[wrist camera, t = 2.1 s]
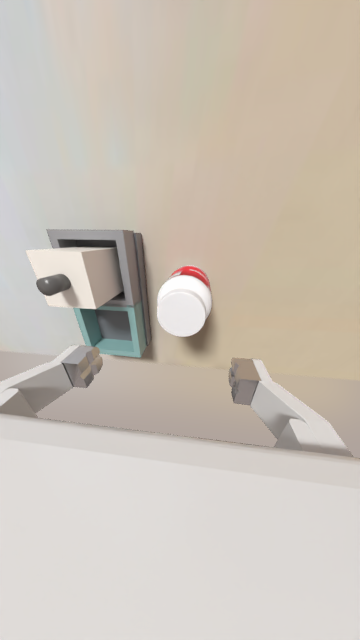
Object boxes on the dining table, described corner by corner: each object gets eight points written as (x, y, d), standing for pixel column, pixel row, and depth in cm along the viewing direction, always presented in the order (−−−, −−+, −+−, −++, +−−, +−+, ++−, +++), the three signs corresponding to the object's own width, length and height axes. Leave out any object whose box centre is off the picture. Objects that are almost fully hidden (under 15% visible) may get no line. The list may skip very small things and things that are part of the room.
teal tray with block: (140, 231, 21) (82, 225, 11) (151, 340, 30) (123, 395, 20) (74, 231, 23) (-37, 225, 12) (102, 336, 31) (52, 386, 21)
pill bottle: (216, 291, 24) (226, 327, 14) (183, 309, 26) (173, 351, 17) (195, 255, 22) (191, 269, 12) (162, 278, 24) (135, 305, 15)
